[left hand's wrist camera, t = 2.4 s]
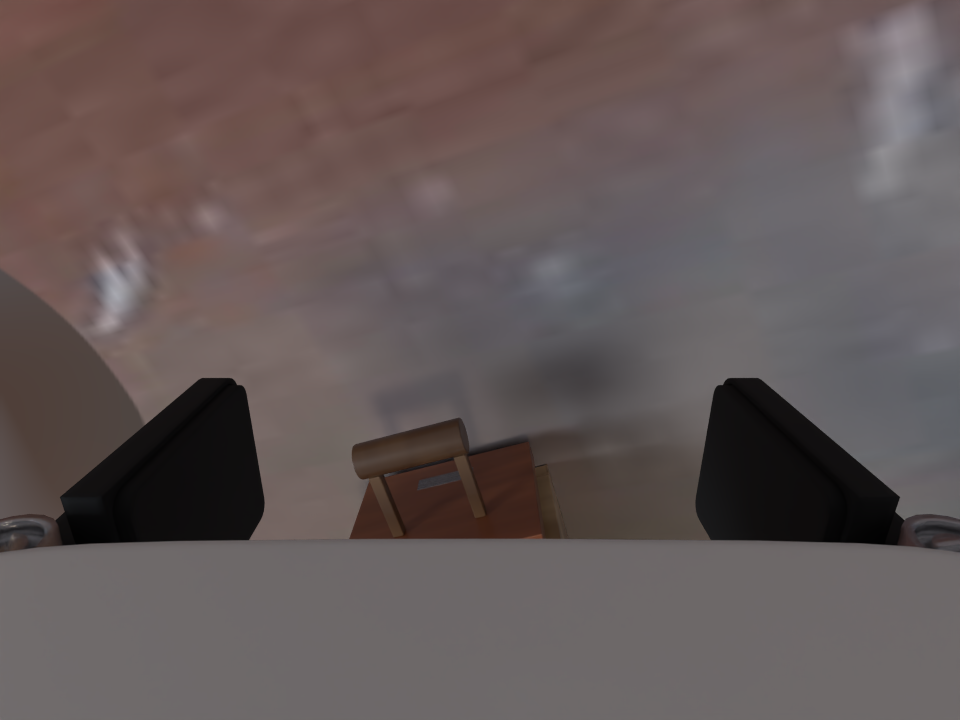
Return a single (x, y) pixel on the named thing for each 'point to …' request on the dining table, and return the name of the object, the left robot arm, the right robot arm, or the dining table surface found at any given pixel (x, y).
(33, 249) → the dining table surface
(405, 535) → the drawer
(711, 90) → the dining table surface
